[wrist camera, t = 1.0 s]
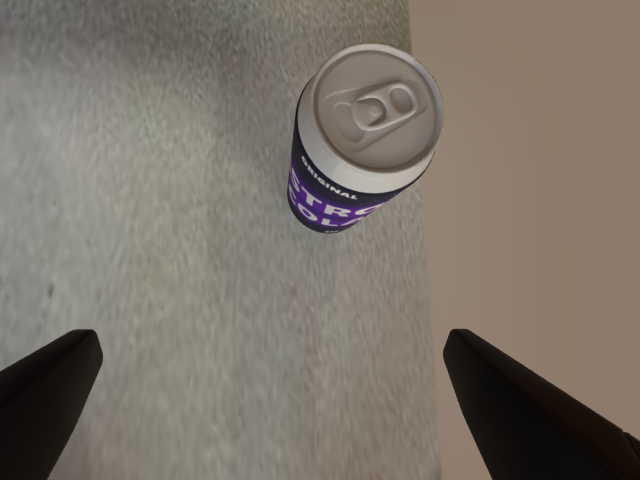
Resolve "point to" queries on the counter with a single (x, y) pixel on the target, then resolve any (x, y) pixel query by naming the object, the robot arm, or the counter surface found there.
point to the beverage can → (361, 134)
